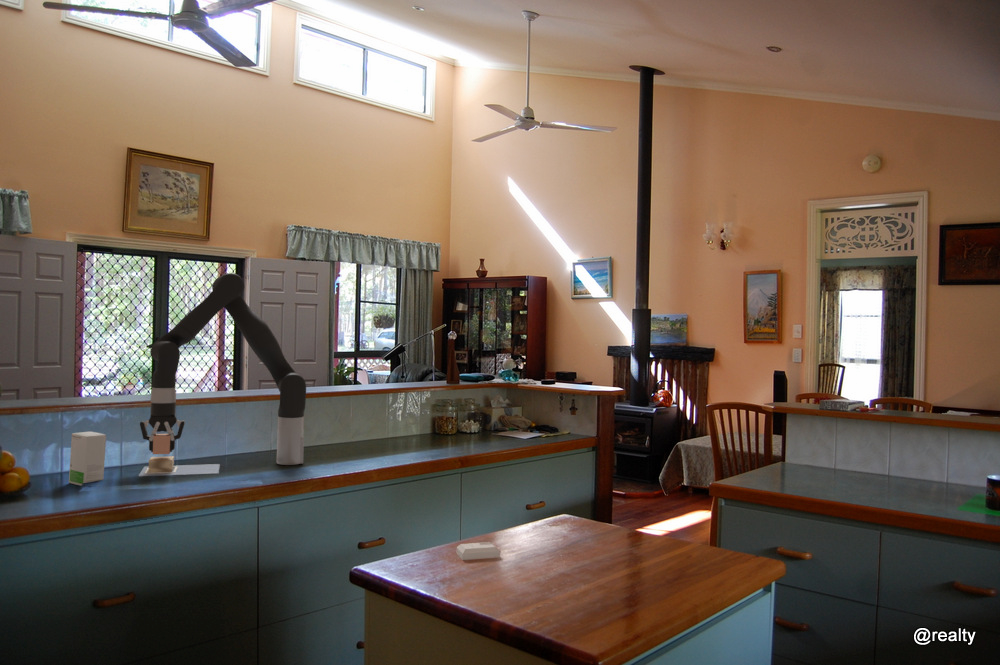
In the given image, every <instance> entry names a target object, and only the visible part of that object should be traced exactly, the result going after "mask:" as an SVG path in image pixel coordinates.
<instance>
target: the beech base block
mask: <svg viewBox="0 0 1000 665" xmlns="http://www.w3.org/2000/svg"><path fill="white" fill-rule="evenodd" d="M148 466H149V471H148V473H155V472H172V471H173V469H174V466H175V456H173V455H172V456H170V455H169V456H151V457H150V458H149V460H148Z"/></svg>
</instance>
